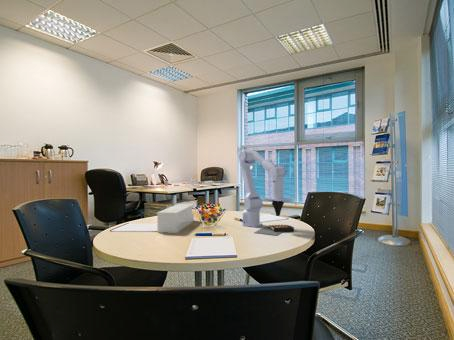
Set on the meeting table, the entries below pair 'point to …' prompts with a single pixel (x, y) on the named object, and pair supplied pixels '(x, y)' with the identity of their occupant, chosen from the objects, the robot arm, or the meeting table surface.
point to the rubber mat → (268, 231)
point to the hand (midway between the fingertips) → (278, 215)
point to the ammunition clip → (281, 228)
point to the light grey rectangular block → (175, 218)
